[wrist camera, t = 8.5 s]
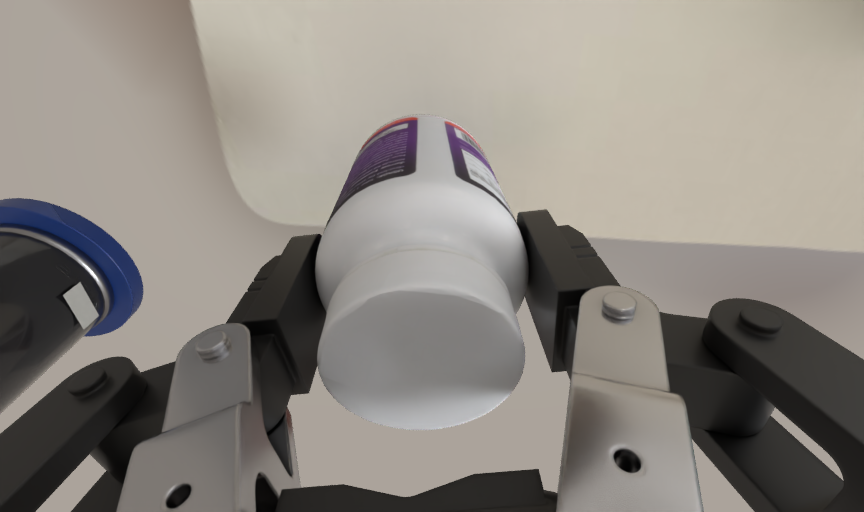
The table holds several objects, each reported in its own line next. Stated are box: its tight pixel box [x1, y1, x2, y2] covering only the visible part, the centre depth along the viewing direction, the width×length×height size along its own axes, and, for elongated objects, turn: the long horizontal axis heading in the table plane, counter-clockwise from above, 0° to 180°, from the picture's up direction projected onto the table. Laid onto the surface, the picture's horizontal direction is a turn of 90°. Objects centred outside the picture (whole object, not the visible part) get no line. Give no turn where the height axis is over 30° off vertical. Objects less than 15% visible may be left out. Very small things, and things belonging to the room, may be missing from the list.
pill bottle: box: [315, 114, 529, 430], centre depth 11 cm, size 5×5×10 cm
